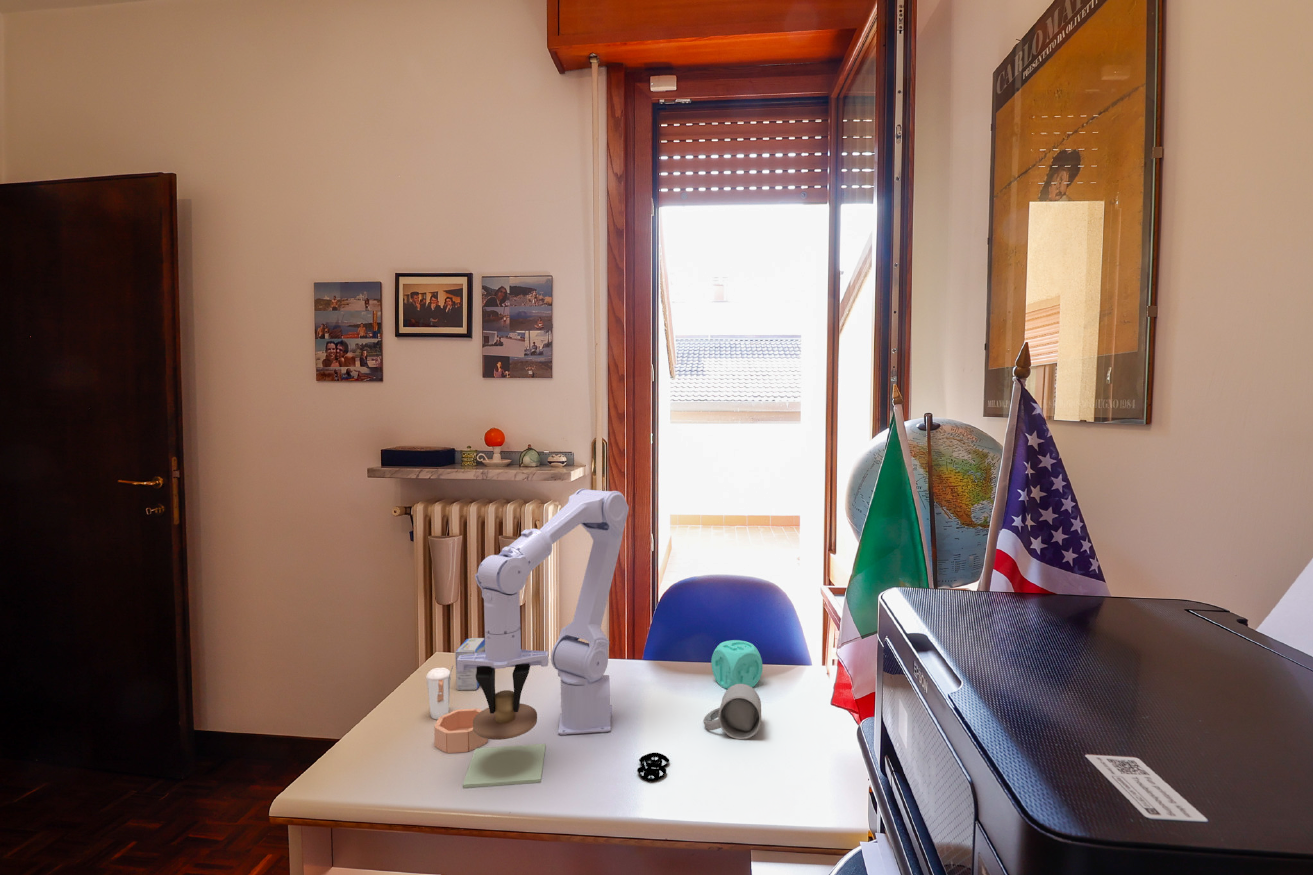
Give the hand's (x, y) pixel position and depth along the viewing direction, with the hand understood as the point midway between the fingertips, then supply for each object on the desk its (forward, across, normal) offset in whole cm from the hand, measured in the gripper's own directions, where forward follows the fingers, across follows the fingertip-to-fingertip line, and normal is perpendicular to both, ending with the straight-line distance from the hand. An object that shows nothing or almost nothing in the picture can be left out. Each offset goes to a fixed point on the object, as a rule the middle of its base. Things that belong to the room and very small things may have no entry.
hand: (504, 710), depth 106 cm
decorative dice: (+10, +45, +27) cm, 53 cm away
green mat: (+9, 0, 0) cm, 9 cm away
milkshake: (+10, -15, +20) cm, 27 cm away
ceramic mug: (+10, +40, +7) cm, 42 cm away
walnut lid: (+2, 0, 0) cm, 2 cm away
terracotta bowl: (+9, -9, +10) cm, 16 cm away
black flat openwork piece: (+10, +24, -4) cm, 26 cm away
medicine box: (+10, -12, +35) cm, 38 cm away
